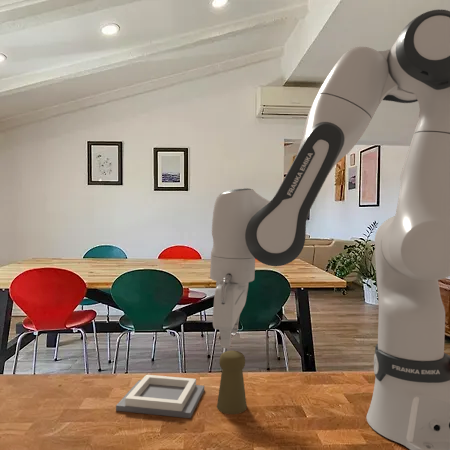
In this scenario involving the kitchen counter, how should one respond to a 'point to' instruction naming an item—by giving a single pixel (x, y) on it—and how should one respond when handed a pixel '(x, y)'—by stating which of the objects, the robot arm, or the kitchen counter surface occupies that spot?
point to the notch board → (162, 396)
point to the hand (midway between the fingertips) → (229, 339)
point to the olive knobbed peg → (232, 383)
